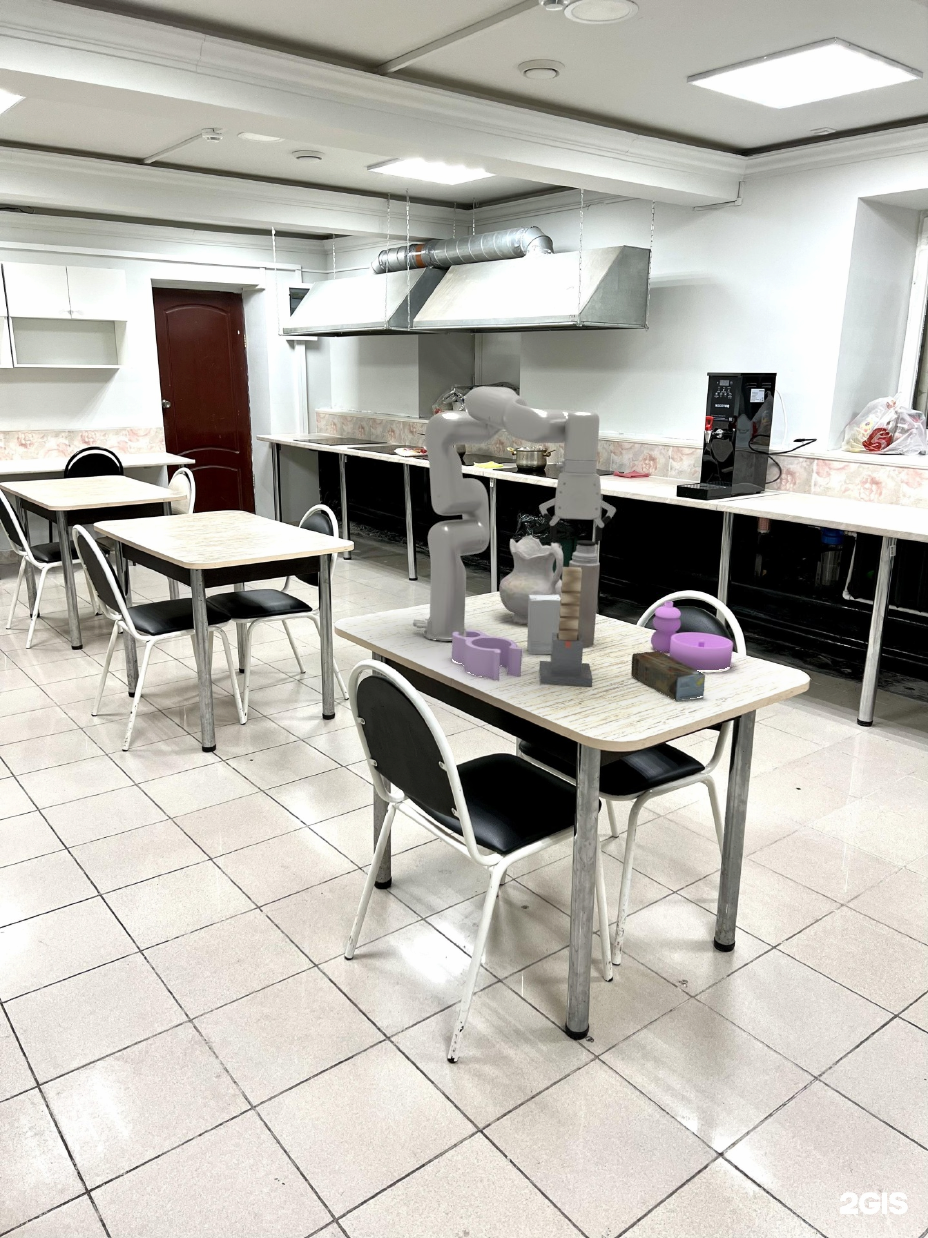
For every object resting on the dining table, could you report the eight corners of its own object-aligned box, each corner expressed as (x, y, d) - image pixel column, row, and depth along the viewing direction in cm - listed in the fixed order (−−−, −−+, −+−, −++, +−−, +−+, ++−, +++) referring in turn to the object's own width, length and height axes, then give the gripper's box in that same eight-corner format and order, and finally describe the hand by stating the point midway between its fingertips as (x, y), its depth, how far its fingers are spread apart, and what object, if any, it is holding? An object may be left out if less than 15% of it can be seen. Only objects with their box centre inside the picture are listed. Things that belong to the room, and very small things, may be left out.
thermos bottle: (563, 638, 251) (570, 537, 244) (593, 640, 250) (600, 539, 243) (564, 646, 243) (571, 542, 236) (594, 648, 243) (602, 544, 236)
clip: (439, 660, 227) (440, 633, 225) (479, 654, 234) (480, 628, 232) (487, 683, 211) (489, 654, 210) (529, 675, 219) (530, 647, 217)
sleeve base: (540, 683, 212) (542, 642, 209) (539, 668, 223) (541, 629, 221) (591, 686, 211) (595, 645, 208) (588, 671, 222) (591, 631, 220)
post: (556, 670, 214) (563, 570, 209) (555, 665, 219) (562, 566, 213) (575, 671, 214) (582, 571, 208) (574, 666, 218) (581, 567, 213)
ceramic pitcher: (581, 626, 269) (590, 542, 264) (542, 633, 254) (551, 544, 249) (523, 613, 282) (531, 533, 278) (483, 618, 268) (490, 534, 263)
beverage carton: (674, 702, 203) (677, 674, 201) (628, 677, 220) (630, 651, 219) (704, 699, 206) (707, 671, 204) (656, 674, 223) (658, 648, 222)
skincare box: (556, 649, 241) (560, 594, 237) (560, 655, 235) (563, 599, 231) (525, 648, 240) (528, 593, 237) (527, 654, 235) (530, 598, 231)
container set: (743, 669, 229) (749, 618, 226) (697, 676, 222) (702, 624, 219) (676, 643, 251) (681, 597, 247) (632, 649, 244) (637, 601, 240)
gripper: (541, 467, 202) (537, 544, 206) (620, 470, 201) (614, 547, 205) (540, 465, 209) (537, 539, 213) (616, 467, 208) (611, 542, 212)
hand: (575, 543), depth 209 cm, fingers open, 9 cm apart
